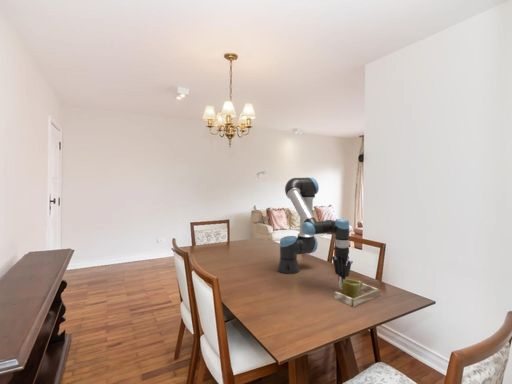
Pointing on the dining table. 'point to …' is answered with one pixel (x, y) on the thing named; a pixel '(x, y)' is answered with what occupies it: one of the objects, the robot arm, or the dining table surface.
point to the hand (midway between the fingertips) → (341, 287)
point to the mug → (351, 288)
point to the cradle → (360, 299)
